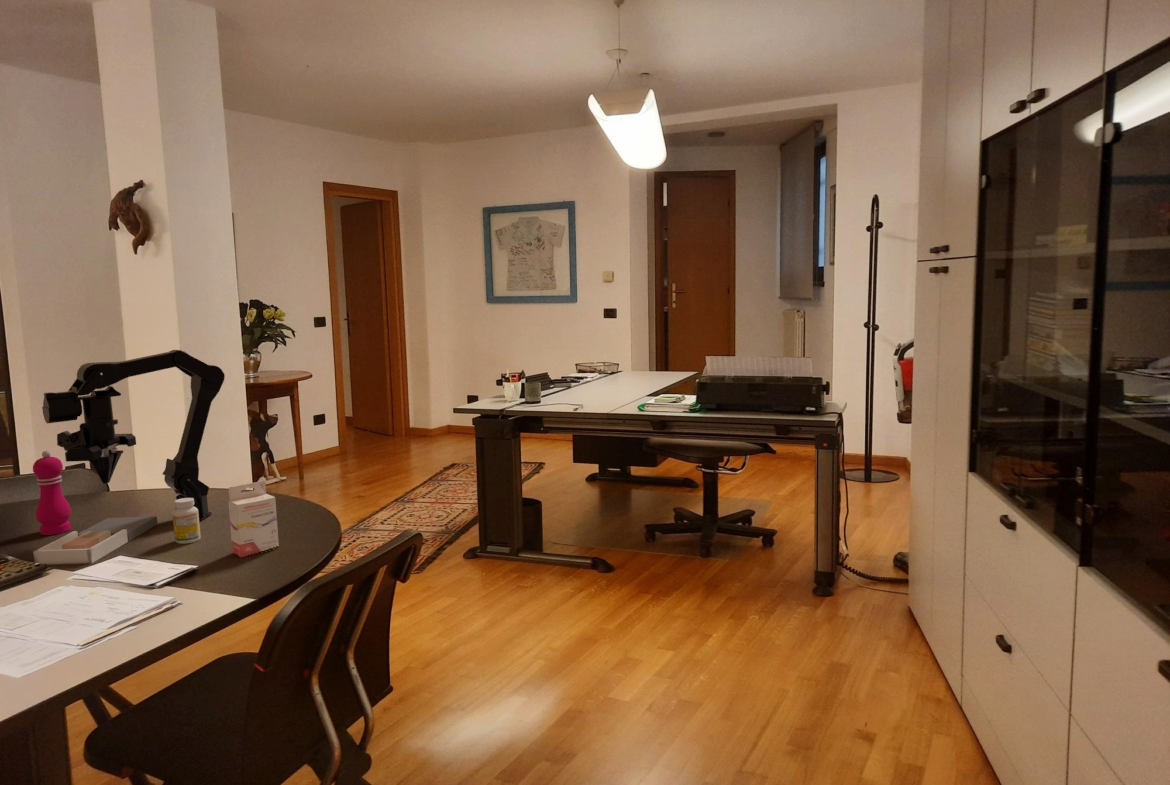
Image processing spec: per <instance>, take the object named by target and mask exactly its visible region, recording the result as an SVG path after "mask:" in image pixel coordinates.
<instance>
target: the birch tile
mask: <svg viewBox="0 0 1170 785" xmlns="http://www.w3.org/2000/svg"><path fill="white" fill-rule="evenodd" d="M110 536H111V531H88V532H86V533H84V534H82V535H80V536H78V537H76V538H98V537H99V543H100V542H101V541H103V540H105V539H107V538H109V537H110ZM76 538H75V539H76Z"/></svg>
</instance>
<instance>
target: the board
mask: <svg viewBox="0 0 1170 785" xmlns="http://www.w3.org/2000/svg"><path fill="white" fill-rule="evenodd" d="M156 524H157V525H158V524H159V523H158V516H156V515H155V516H153V515H152V516H132V517H131V516H127V517H107V518H105V519H104V520H101V521H99V522H98V523H96V524H94V525H91V526H89V527H88V528H86V529H84V530H81V531H80V532H77V533H78V536H80V535H82V534H84V533H86V532H88V531H111V536H112V535H114V534H116V533H117V532H119V531H121V530H123V529H127V538H128V542H130V541H132V540H134V539H135V538H137V537H139V536H140V535H142V534H143V533H146V532H147V531H149V530H151V528H154V527H156V526H157V525H156ZM155 525H156V526H155ZM153 526H154V527H153ZM148 529H149V530H148Z"/></svg>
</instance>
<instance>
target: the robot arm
mask: <svg viewBox="0 0 1170 785" xmlns="http://www.w3.org/2000/svg"><path fill="white" fill-rule="evenodd" d="M171 368H177V369H178V370H179V371H181V372H182V373H184V374H185V375H187V376H189V377H190V392H191V402H190V405H189V409H188V411H187V412H188V413H187V416H186V421H185V424H184V427H183V432H182V436H181V439H180V444H179V448H178V452H177V454H175V456H174V458H172V459H170V458H166V460H165V461H166V462H165V468H164V470H163V472H162V475H163V476H164V477H163V478H164V483H165V484H166V486H167V487H169V488H170V489H172V490H173V491H174V493H175V494H177V495H176V496H175V500H178V499H182V498H193V499H194V503H195V504H194V505H193V506H194V507H196V508H197V509H198V513H199V522H201V521H203V520H205V519H206V518H208V517H210V514H211V515H212V514H213V513H212V511H209V504H208V503H209V502H208V494H209V489H210V487H209V486H208V485H207V484H205V483H204V482H202V481H201V480H199V474H200V468H199V459H198V458H199V457H198V456H199V452H200V449H201V445H202V441H203V438H204V433H205V428H206V425H207V421H208V416H209V414H210V409H211V406H212V402H213V400H215V398H216V396H217V395H218V394H219V392H220V390H221V388H222V386H223V385H224V382H225V378H226V377H225V373H224V371H223V369H222V368H220V367H219V366H218V365H213V364H212V365H211V364H207V363H205V362H203V361H202V360H200V359H198V358H196V357H194V356H192V355H190V354H189V353H187V352H186V351H185V350H181V349H172V350H169V351H166V352H161V353H157V354H152V355H147V356H142V357H138V358H132V359H127V360H123V361H100V362H99V361H98V362H87V363H83V364H81V365H80V366H79V367H78V369H77V373H76V379H75V380H74V381H73V383H72V384H71V386H70V388H69V389H68V390H67V391H58V392H50V391H49V392H44V393H43V401H42V402H43V403H42V414H43V415H42V416H43V418H44V421H45V423H46V424H53V423H54V424H55V423H63V422H73V421H77V420H78V419H79V418H78V417H81V416H82V415H83V419H84V422H82V423H80V424H79V429H78V430H77V431H73V432H72V433H71V432H70V431H69V430H65V431H62V432H60V433H57V434H56V445H57V446H58V447H61V448H63V449H64V451H65V452H64V457H65V458H64V459H65V462H69V463H70V462H89V463H91V465H92V466H93V467H94V469H95V471H96V474H97V475H98V477H99V478H100V480H101V482H102V484H109V483H110V482H111V479H112V477H113V475H114V471H115V469H116V467H117V464H118V462H119V461H120V458H121V456H122V454H124V450H118V448H117V446H127V447H132V446H133V447H134V446H135V445H137V439H136V435H134V434H133V433H116V430H115V425H118V424H119V422H118V421H119V420H118V419H114V412H113V405H112V404H113V403H112V398H113V397H120V396H122V393H121V392H119V391H118V390H116V389H115V388H114V386H112V385H114V384H118V383H119V382H121V381H123V380H125V379H128V378H131V377H135V376H140V375H145V374H149V373H153V372H159V371H162V370H166V369H171ZM104 388H105V389H104ZM174 507H175V506H174ZM175 509H177V508H176V507H175ZM175 509H174V510H175ZM207 516H208V517H207Z"/></svg>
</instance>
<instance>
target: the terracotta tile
mask: <svg viewBox="0 0 1170 785" xmlns="http://www.w3.org/2000/svg"><path fill="white" fill-rule="evenodd" d="M98 543H99V537H98V538H76V539H74V540H72V541H69V542H67V543H65V544H63V545H62V549H88V548H91V547H92V546H94V545H96V544H98Z"/></svg>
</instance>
